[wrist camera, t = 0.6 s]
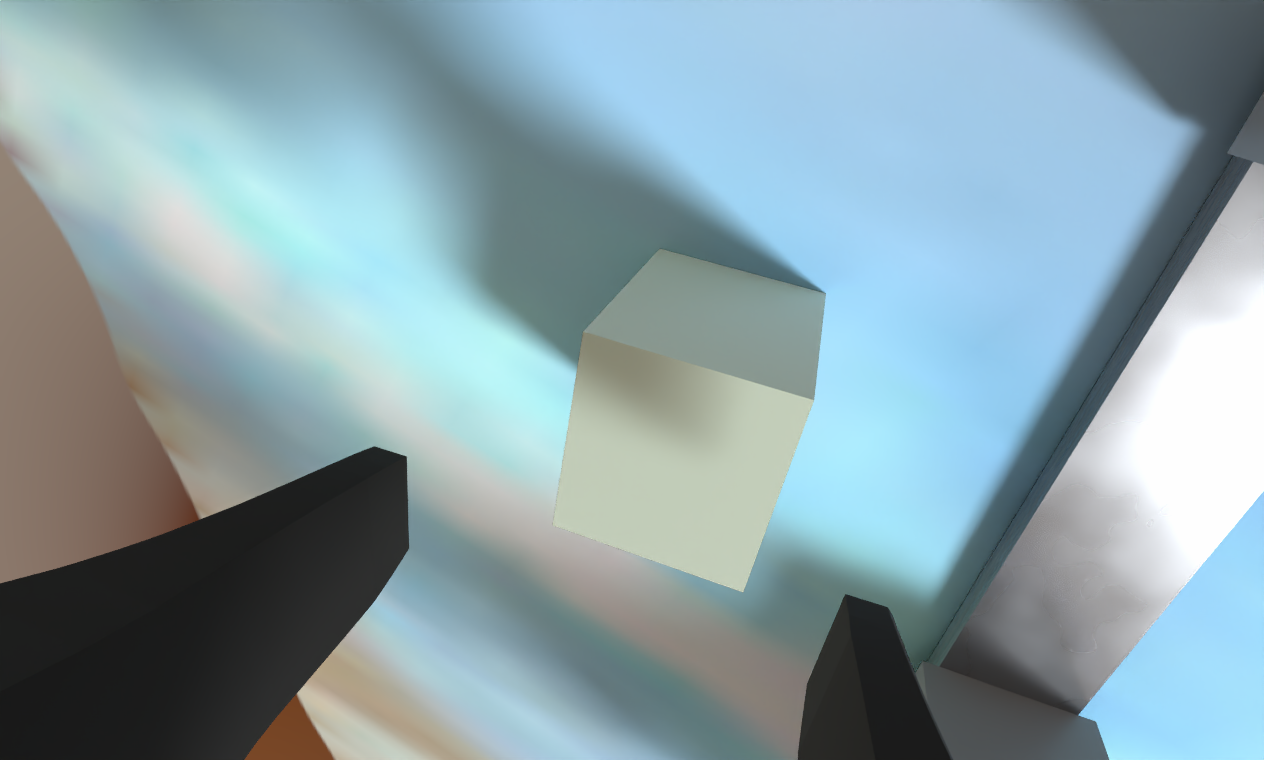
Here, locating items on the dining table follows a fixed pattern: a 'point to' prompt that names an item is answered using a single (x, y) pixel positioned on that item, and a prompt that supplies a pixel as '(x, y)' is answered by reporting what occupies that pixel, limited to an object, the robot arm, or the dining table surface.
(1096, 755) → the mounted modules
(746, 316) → the block
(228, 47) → the dining table surface
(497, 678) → the dining table surface
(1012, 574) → the steel rail
